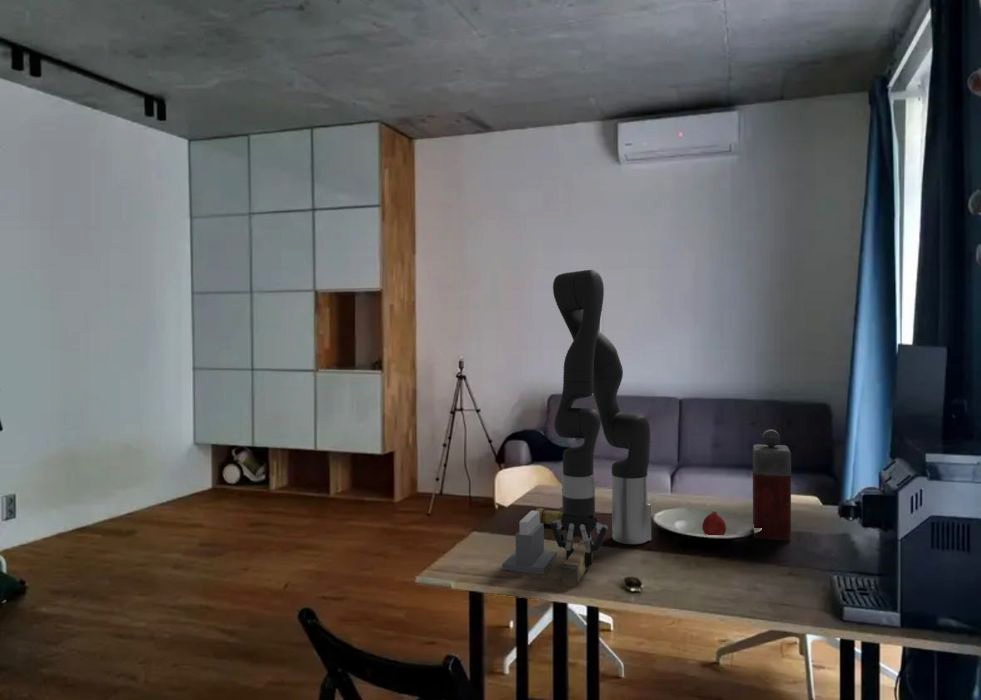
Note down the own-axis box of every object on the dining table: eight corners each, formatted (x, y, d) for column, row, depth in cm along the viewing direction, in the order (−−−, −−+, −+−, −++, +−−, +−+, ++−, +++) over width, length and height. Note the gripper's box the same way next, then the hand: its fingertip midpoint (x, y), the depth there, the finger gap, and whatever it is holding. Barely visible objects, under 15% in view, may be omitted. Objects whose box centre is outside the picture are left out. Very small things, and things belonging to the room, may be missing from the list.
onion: (701, 543, 177) (701, 512, 177) (703, 536, 182) (703, 506, 182) (725, 545, 175) (725, 514, 175) (726, 538, 180) (726, 508, 180)
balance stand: (557, 557, 169) (556, 511, 168) (543, 574, 157) (543, 525, 157) (518, 553, 172) (517, 508, 171) (502, 570, 161) (501, 521, 160)
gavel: (556, 496, 215) (587, 499, 211) (556, 511, 215) (587, 514, 211) (534, 509, 195) (568, 513, 192) (534, 526, 195) (568, 529, 191)
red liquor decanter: (787, 528, 188) (787, 426, 187) (791, 540, 177) (791, 433, 176) (752, 525, 191) (752, 425, 190) (754, 537, 180) (753, 432, 179)
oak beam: (583, 553, 171) (582, 537, 171) (595, 554, 170) (595, 538, 170) (561, 585, 151) (561, 567, 150) (575, 587, 150) (575, 568, 149)
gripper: (611, 491, 161) (612, 563, 162) (553, 487, 166) (554, 557, 166) (605, 499, 154) (606, 575, 154) (544, 495, 159) (546, 568, 159)
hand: (579, 565), depth 160 cm, fingers open, 3 cm apart
